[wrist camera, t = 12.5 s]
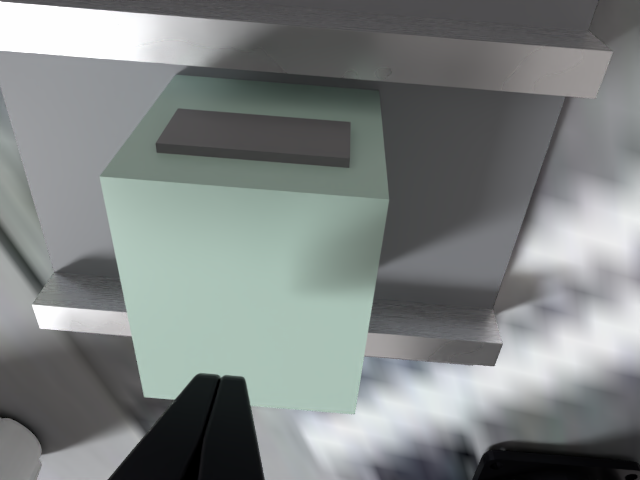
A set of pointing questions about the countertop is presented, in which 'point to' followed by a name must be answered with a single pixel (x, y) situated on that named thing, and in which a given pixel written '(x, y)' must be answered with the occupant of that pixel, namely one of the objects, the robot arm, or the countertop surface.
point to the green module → (251, 237)
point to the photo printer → (18, 452)
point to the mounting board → (319, 70)
